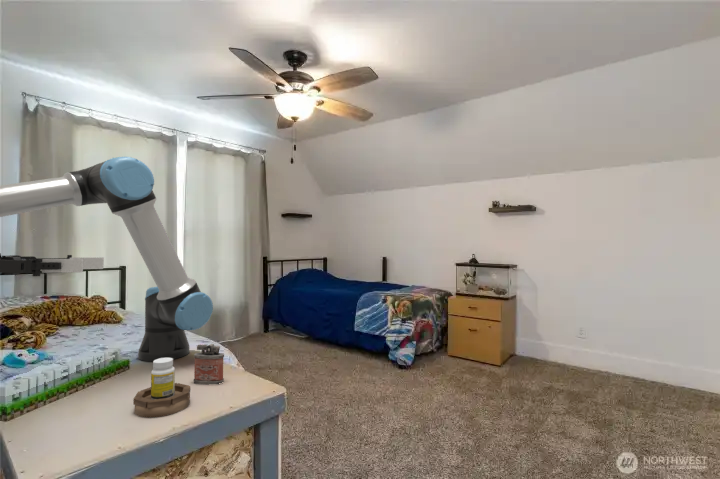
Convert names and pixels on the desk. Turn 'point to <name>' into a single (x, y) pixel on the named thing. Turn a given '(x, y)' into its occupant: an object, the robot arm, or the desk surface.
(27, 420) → the desk surface
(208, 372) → the lighter
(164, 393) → the supplement bottle
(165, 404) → the coaster stand
